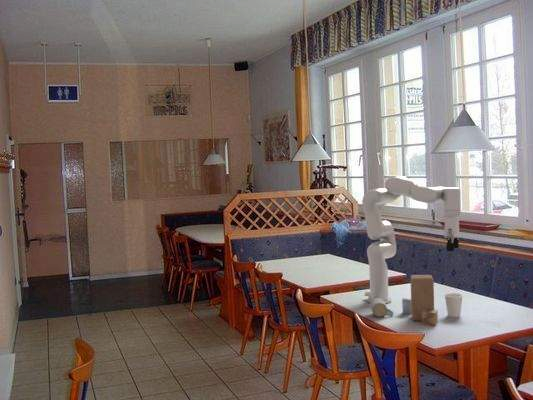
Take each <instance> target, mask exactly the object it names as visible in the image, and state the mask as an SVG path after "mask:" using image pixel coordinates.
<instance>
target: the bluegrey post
mask: <svg viewBox="0 0 533 400" xmlns="http://www.w3.org/2000/svg"><path fill="white" fill-rule="evenodd" d="M401 300H402V301H401V303H402V304H401V305H402V306H401V307H402V314H403V315H409V314H410V315H412V314H411V297H404V298H402V299H401ZM410 315H409V316H410Z"/></svg>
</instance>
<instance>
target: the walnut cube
mask: <svg viewBox="0 0 533 400" xmlns="http://www.w3.org/2000/svg"><path fill="white" fill-rule="evenodd" d="M438 316H439V315H438V309H434V310H431V309H424V310H423V311H422V321H421V325H422V326H427V325H430V326H431V327H436V326H437V325H438V323H439V322H438V320H439V319H438ZM436 324H437V325H436ZM430 326H429V327H430Z"/></svg>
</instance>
